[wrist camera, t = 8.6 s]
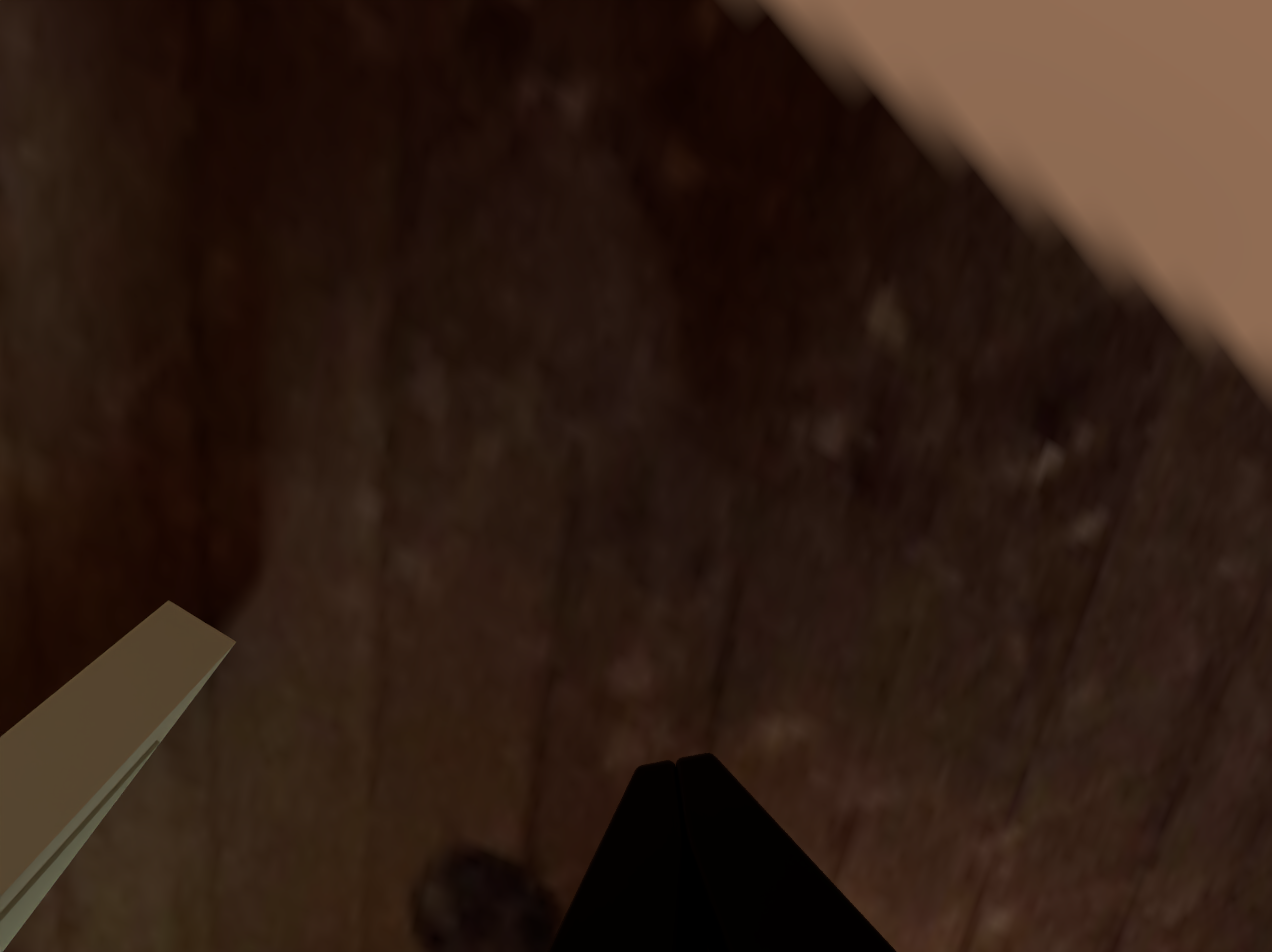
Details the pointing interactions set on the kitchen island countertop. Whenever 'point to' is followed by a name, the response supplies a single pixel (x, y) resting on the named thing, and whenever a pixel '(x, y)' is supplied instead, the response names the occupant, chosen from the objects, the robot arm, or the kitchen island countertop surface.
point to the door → (92, 749)
